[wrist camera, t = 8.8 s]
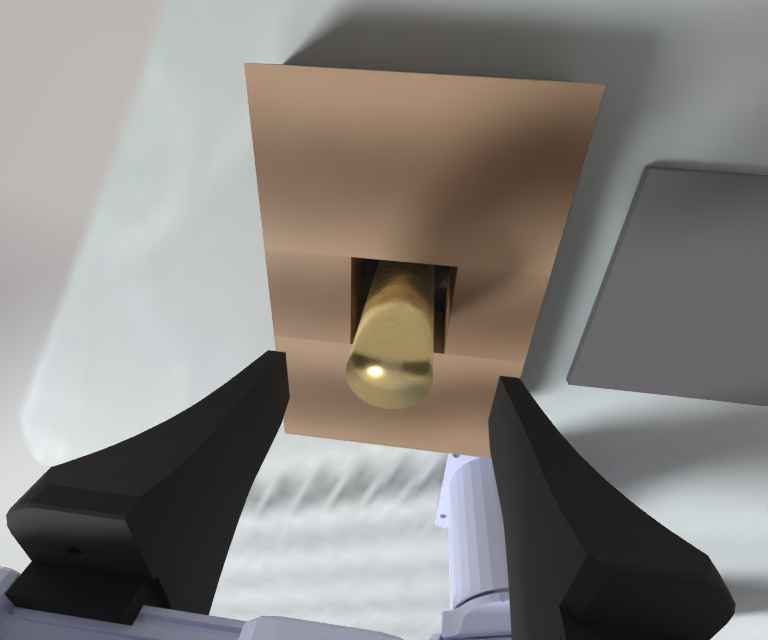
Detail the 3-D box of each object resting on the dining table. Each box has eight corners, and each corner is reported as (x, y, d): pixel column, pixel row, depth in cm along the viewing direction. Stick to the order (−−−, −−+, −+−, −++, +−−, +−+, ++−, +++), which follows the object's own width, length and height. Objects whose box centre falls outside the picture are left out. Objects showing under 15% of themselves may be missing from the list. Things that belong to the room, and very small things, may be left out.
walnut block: (488, 408, 26) (496, 459, 23) (304, 387, 27) (285, 433, 23) (571, 81, 16) (606, 84, 13) (281, 64, 17) (244, 62, 14)
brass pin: (431, 296, 22) (428, 413, 15) (377, 291, 22) (345, 404, 15) (437, 244, 21) (437, 344, 13) (378, 239, 21) (345, 335, 13)
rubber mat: (780, 402, 23) (787, 408, 23) (566, 378, 24) (568, 384, 24) (942, 188, 17) (956, 191, 17) (645, 166, 18) (649, 169, 17)
